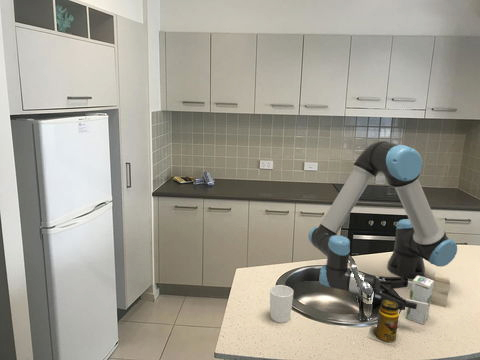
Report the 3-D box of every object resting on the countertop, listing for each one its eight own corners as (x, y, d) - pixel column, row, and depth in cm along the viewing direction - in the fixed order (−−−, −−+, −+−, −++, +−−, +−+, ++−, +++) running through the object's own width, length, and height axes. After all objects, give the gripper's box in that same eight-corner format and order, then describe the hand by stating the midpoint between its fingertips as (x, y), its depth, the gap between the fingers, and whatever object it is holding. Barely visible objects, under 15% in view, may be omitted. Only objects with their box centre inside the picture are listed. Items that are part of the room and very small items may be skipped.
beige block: (430, 297, 150) (434, 273, 148) (445, 300, 148) (449, 276, 146) (430, 304, 146) (434, 279, 143) (445, 307, 144) (449, 282, 141)
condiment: (395, 346, 121) (399, 311, 118) (366, 337, 125) (371, 303, 122) (398, 334, 127) (402, 300, 124) (371, 326, 131) (375, 293, 128)
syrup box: (410, 311, 140) (416, 274, 137) (428, 317, 137) (434, 280, 133) (405, 318, 136) (411, 280, 132) (423, 325, 132) (430, 286, 129)
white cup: (285, 309, 139) (286, 283, 137) (295, 321, 132) (297, 294, 130) (264, 313, 137) (266, 286, 134) (274, 325, 130) (276, 298, 127)
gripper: (366, 278, 154) (425, 291, 145) (356, 310, 131) (426, 327, 123) (368, 260, 152) (428, 272, 143) (359, 289, 130) (429, 306, 121)
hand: (427, 298), depth 133 cm, fingers open, 13 cm apart
